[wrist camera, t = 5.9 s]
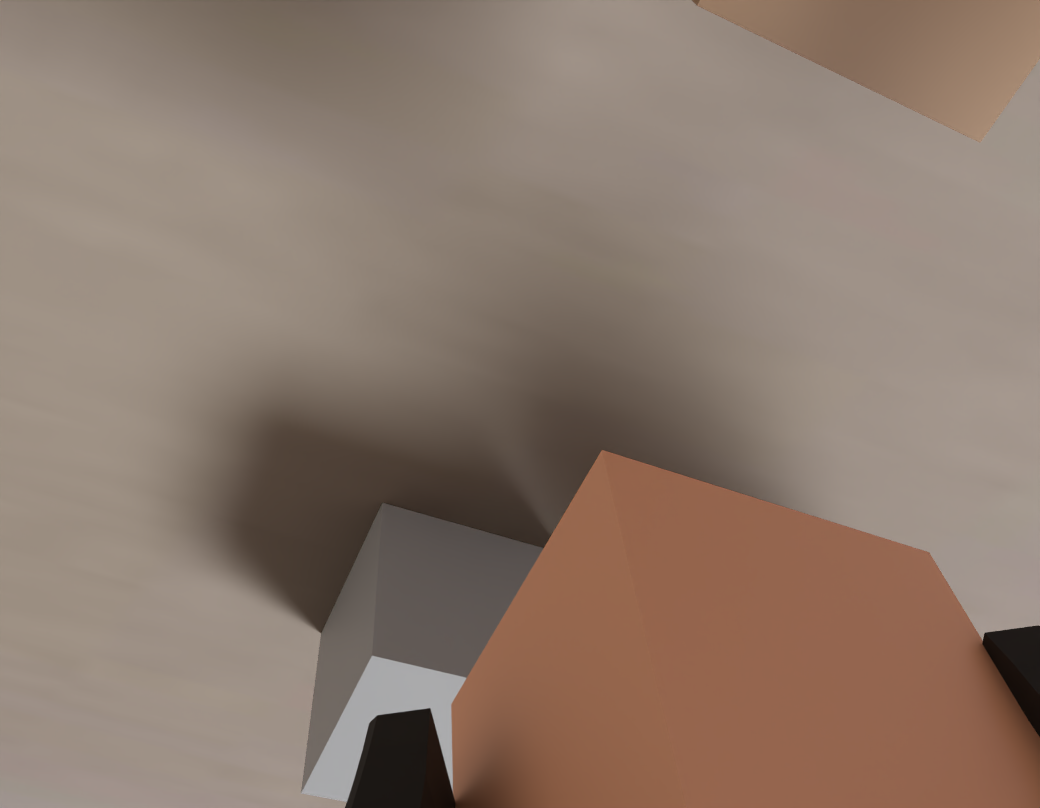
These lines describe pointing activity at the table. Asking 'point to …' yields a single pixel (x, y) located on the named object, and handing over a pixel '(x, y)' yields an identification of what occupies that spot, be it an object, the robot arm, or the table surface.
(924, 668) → the terracotta block
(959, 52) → the wooden cube
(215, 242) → the table surface
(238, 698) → the table surface
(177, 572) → the table surface
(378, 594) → the light gray block
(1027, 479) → the table surface
